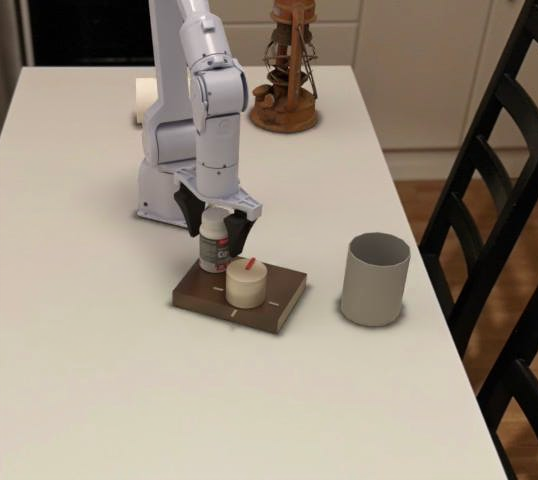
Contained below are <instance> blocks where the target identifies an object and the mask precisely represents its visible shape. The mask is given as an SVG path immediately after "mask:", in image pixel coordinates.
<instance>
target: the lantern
mask: <svg viewBox="0 0 538 480" xmlns="http://www.w3.org/2000/svg"><path fill="white" fill-rule="evenodd" d="M272 5H273V7H272V10H271V12H270V13H269V17H270V19H271V20H273V21H274V22H276V28H274V29H273V30H272V32H271V36H270V39H271V41H269V43H268V45H267V46H266V48H265V50H264V52H263V58H262V62H264V65H265V68H266V70H267V74H266V79H267V81H269V82H270V83H271V84H272V85H271V84H268V83H264V84H261V85H258V86H256V87H255V88H254V89H252V91H251V94H252V96H254V107H252V109H251V111H250V113H249V120H250V121H251V122H252V123H253V124H254V125H255V126H257V128H258V127H259V129H262V130H265V131H270V132H273V133H285V134H286V133H287V134H290V133H299V132H303V131H307V130H308V129H310V128H313V127H314V126H315V125H316V124H317V123H318V121H319V115H318V112H317V109H316V101H317V100H318V96H319V95H318V91H317V87H316V83H315V79H314V75H313V72H314V69H312V68H311V67H312V66H311V63H310V61H312V60H313V61H314V64H315V65H317V64H316V62H317V61H316V60H317V59H318V58H319V56H318V55H316V54H317V52H316V48H315V46H314V44H313V43H312V40H313V33H312V31H311V30H310V24H312V23H314V22H316V21H317V19H318V15H317V14H316V0H273V4H272ZM273 44H274V47H275V46H276V45H277V49H276V55H273V56H269V55H268V52H269V49H270V52H271V51H272V49H271V47H272V46H273ZM306 44H307V46H308V47H309V48H310V47H311V49H312V50H311V51H312V54H308V52H307V47H306ZM289 47H290V55H289V54H288V49H289ZM269 60H275V64H270V62H269ZM302 61H303V62H302ZM303 65H304V69H305V71H303V70H302V66H303ZM271 66H272V67H273V68H274V69H273V70H270V69H271ZM308 81H309V82H310V85H311V89H312V92H311V91H309V90H307V88H304V87H303V86H304V84H305V83H307V82H308Z"/></svg>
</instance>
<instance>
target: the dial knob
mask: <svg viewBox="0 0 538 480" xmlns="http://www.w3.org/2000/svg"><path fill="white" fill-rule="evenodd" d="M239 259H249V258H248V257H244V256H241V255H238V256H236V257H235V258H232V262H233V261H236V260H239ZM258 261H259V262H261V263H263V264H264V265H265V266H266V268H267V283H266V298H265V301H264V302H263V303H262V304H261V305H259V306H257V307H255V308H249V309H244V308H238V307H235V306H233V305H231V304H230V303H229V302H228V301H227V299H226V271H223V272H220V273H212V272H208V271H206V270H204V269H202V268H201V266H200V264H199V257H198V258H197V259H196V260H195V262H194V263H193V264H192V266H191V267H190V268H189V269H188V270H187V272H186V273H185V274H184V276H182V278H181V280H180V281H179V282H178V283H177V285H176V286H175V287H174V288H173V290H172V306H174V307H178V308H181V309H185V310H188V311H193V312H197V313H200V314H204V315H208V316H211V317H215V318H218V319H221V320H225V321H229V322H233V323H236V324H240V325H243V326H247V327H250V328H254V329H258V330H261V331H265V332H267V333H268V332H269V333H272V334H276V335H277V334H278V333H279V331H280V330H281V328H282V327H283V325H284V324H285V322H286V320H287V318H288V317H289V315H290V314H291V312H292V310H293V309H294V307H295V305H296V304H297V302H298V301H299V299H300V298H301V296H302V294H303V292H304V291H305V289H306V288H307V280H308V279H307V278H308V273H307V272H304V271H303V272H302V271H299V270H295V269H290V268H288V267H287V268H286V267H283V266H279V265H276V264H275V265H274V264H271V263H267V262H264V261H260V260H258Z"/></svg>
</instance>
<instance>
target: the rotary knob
mask: <svg viewBox="0 0 538 480" xmlns="http://www.w3.org/2000/svg"><path fill="white" fill-rule="evenodd" d="M259 261H260V260H257V258H256V257H251V258H248V259H239V260H236V261H233V262H231V263H230V264H229V265H228V267H227V270H226V299H227V301H228V302H229V303H230V304H231V305H233V306H235V307H238V308H244V309H249V308H255V307H257V306H259V305H261V304H262V303H263V302H264V301H265V298H266V283H267V268H266V266H265V265H264V264H263V263H261V262H262V261H260V262H259Z"/></svg>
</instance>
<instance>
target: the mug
mask: <svg viewBox="0 0 538 480" xmlns="http://www.w3.org/2000/svg"><path fill="white" fill-rule="evenodd" d="M190 82H191V77H189V76H188V86H189V98H190V99H191V97H190ZM157 99H158V91H157V81H156V77H136V78H135V108H136V109H135V111H136V122H137V124H142V118H143V114H144V113H145V112H146V111H147V110H148V109H149V108H150V107H151V106H152V105H153V104H154V103H155V102H156V100H157ZM187 119H190V118H187ZM180 120H183V119H180ZM173 121H176V120H173ZM167 122H169V121H167Z"/></svg>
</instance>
